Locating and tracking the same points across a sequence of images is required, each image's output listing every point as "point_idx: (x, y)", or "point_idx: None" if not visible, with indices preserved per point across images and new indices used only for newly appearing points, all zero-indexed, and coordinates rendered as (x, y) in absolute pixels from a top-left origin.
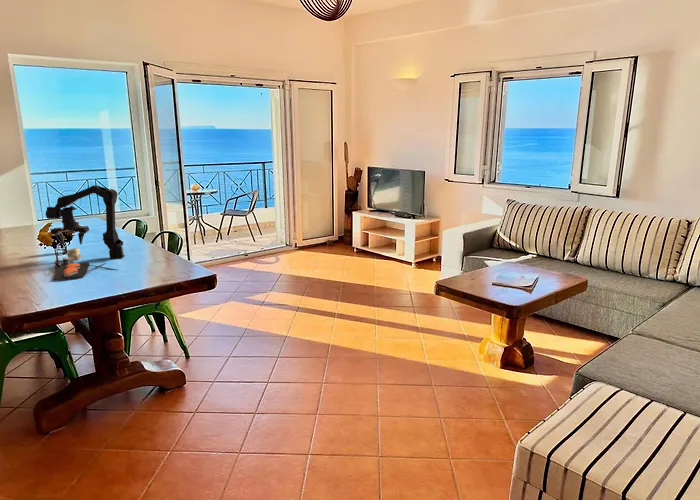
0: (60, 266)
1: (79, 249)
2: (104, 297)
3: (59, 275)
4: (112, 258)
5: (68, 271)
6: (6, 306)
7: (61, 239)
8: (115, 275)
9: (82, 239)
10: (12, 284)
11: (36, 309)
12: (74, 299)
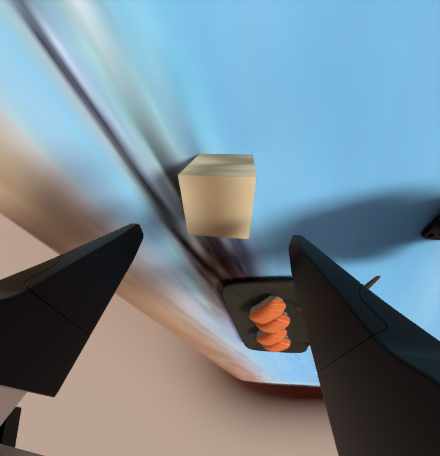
0: (224, 294)
1: (255, 176)
2: None
3: (249, 333)
4: (437, 238)
5: (272, 351)
6: (226, 370)
7: (104, 300)
8: None
9: (341, 276)
10: (180, 332)
11: (262, 380)
12: (297, 380)
